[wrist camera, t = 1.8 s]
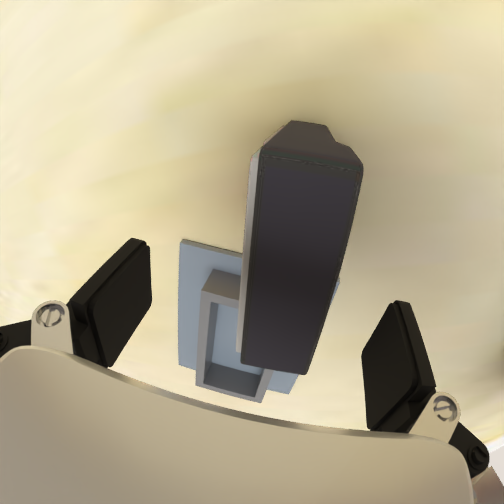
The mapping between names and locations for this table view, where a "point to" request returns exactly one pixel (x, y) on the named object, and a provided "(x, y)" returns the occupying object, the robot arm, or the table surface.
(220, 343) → the desk holder
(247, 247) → the multicoloured piece
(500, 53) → the table surface
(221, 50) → the table surface
